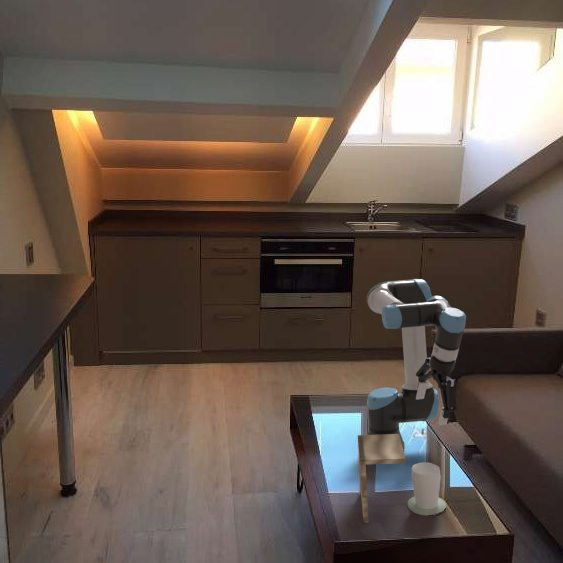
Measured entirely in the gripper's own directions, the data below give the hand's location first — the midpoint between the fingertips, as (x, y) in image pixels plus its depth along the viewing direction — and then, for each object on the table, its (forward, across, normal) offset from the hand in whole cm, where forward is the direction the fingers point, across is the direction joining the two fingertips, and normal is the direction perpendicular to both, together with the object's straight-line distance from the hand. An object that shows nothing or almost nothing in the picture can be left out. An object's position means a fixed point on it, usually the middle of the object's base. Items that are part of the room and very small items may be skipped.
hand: (430, 411), depth 202 cm
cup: (+24, +16, -6) cm, 29 cm away
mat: (+24, +16, -6) cm, 30 cm away
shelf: (+27, +11, -17) cm, 34 cm away
